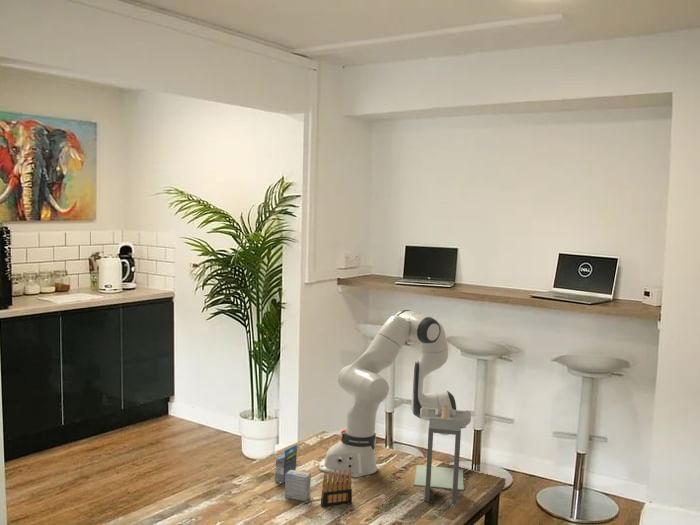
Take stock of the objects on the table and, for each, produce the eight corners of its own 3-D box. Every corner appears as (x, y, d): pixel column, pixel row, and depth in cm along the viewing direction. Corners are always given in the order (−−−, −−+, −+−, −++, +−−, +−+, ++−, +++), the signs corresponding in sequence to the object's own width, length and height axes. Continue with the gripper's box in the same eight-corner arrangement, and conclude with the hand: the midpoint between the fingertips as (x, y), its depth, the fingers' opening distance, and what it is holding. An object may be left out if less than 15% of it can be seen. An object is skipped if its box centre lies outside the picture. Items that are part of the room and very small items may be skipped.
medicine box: (310, 497, 236) (311, 472, 236) (305, 502, 232) (306, 477, 232) (289, 493, 239) (290, 469, 238) (284, 498, 235) (285, 473, 234)
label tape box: (286, 473, 256) (288, 441, 255) (296, 476, 255) (297, 443, 254) (274, 481, 248) (275, 448, 248) (283, 484, 247) (285, 450, 246)
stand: (424, 501, 237) (428, 428, 235) (426, 487, 249) (429, 418, 247) (456, 504, 235) (460, 430, 234) (456, 490, 247) (460, 420, 245)
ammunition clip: (349, 501, 234) (351, 467, 234) (351, 503, 233) (353, 469, 232) (320, 505, 230) (322, 470, 229) (322, 507, 229) (323, 472, 228)
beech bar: (440, 428, 251) (441, 420, 250) (441, 412, 270) (442, 405, 270) (449, 429, 250) (449, 421, 250) (449, 413, 270) (449, 405, 270)
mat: (413, 485, 251) (414, 484, 250) (416, 465, 270) (416, 464, 270) (463, 490, 248) (463, 489, 248) (462, 470, 268) (462, 469, 268)
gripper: (420, 409, 282) (419, 400, 270) (470, 413, 279) (472, 404, 267) (419, 424, 279) (418, 416, 267) (469, 428, 276) (471, 420, 264)
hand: (445, 410), depth 267 cm, fingers closed on beech bar, 3 cm apart
